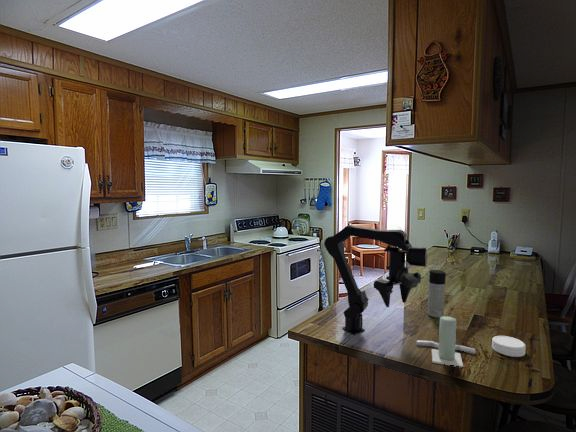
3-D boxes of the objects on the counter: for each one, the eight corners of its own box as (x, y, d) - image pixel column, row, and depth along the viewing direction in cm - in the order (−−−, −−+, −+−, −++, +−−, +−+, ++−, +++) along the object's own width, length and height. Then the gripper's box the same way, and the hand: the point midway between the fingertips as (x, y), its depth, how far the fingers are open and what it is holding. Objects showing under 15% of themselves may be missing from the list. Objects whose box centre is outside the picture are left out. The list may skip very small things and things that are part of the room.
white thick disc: (520, 346, 126) (520, 337, 125) (529, 359, 116) (530, 349, 116) (488, 342, 129) (489, 333, 129) (495, 355, 120) (495, 345, 119)
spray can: (439, 312, 159) (441, 269, 157) (446, 318, 152) (448, 273, 150) (425, 312, 159) (426, 269, 157) (431, 318, 152) (433, 273, 150)
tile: (432, 362, 114) (432, 360, 114) (431, 350, 122) (431, 348, 122) (463, 367, 111) (463, 365, 111) (459, 354, 119) (460, 353, 119)
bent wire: (416, 347, 125) (416, 342, 125) (416, 342, 128) (416, 338, 128) (475, 356, 118) (476, 351, 118) (474, 351, 122) (474, 347, 122)
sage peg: (443, 361, 114) (445, 322, 112) (435, 353, 119) (436, 316, 117) (458, 360, 114) (459, 321, 113) (449, 352, 119) (450, 316, 118)
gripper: (397, 271, 118) (396, 316, 119) (431, 264, 128) (430, 306, 129) (373, 265, 127) (372, 306, 129) (406, 259, 137) (405, 298, 139)
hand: (395, 304), depth 131 cm, fingers open, 9 cm apart
